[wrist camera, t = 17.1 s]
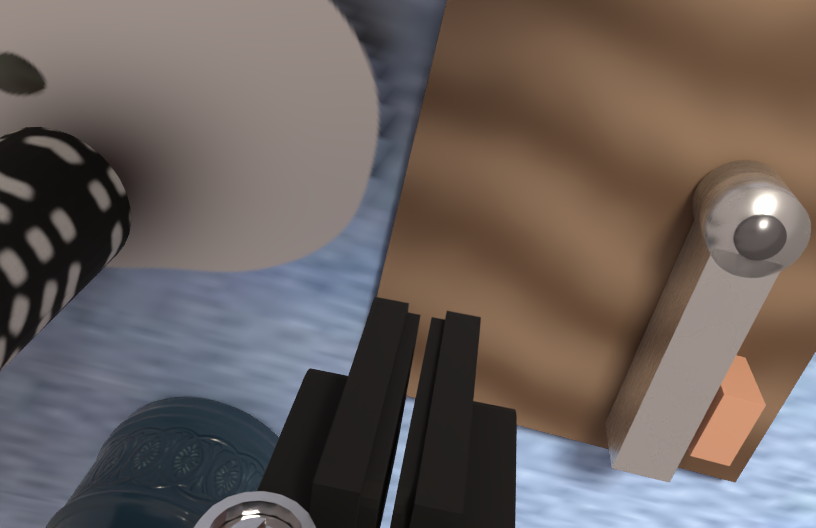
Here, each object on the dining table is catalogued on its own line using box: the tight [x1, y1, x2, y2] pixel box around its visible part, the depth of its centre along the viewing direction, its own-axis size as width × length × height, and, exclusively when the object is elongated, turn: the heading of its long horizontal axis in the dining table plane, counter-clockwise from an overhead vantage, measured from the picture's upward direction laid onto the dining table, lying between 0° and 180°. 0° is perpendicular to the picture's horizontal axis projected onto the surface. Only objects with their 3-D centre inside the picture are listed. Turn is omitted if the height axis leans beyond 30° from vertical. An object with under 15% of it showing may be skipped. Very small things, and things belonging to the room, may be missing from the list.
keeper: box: [688, 355, 766, 466], centre depth 38 cm, size 4×2×4 cm, turn 167°
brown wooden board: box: [377, 0, 816, 482], centre depth 35 cm, size 32×22×1 cm
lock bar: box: [605, 160, 811, 482], centre depth 36 cm, size 16×4×4 cm, turn 168°
